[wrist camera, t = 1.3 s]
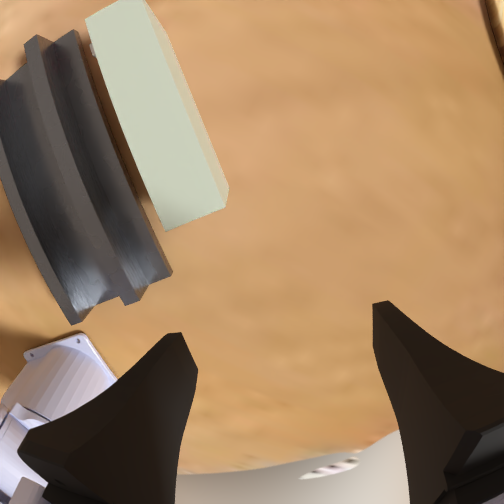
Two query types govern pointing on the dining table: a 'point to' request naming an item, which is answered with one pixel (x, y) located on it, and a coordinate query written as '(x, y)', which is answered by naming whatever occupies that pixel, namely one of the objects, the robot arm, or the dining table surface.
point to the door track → (73, 183)
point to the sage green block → (157, 113)
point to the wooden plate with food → (497, 22)
